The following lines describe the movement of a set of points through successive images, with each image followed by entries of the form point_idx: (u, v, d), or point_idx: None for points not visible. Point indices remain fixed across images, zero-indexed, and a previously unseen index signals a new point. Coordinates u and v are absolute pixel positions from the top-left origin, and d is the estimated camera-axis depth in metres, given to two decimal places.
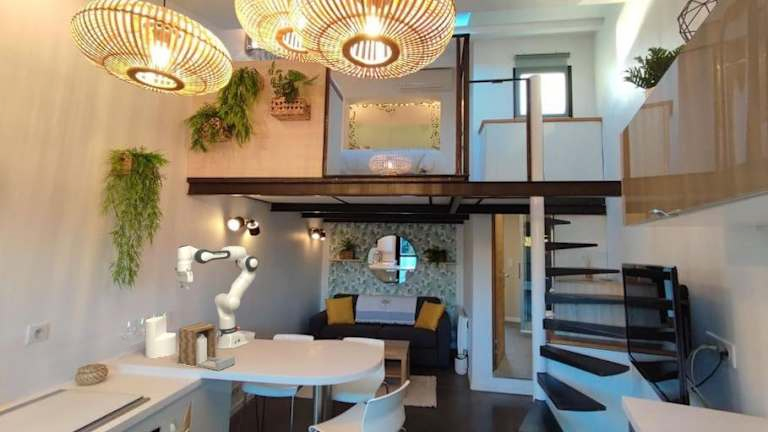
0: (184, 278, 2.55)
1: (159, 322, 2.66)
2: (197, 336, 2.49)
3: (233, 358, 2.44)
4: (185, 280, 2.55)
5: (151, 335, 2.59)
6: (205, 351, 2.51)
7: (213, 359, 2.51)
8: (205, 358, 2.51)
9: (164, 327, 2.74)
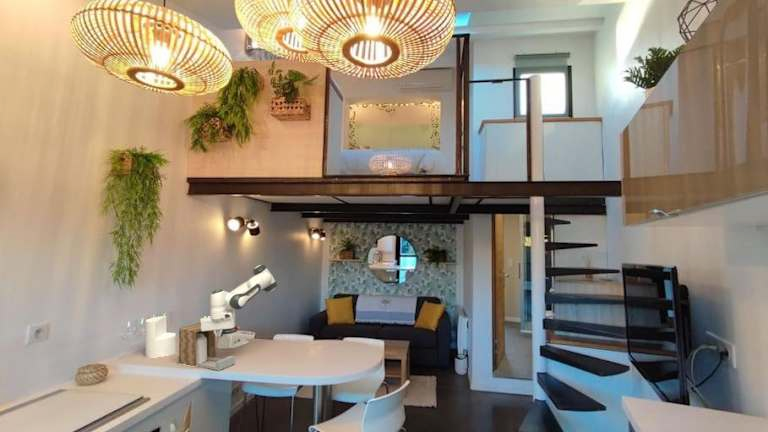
0: None
1: (159, 322, 2.66)
2: (197, 336, 2.49)
3: (233, 358, 2.44)
4: None
5: (151, 335, 2.59)
6: (205, 351, 2.51)
7: (213, 359, 2.51)
8: (205, 358, 2.51)
9: (164, 327, 2.74)
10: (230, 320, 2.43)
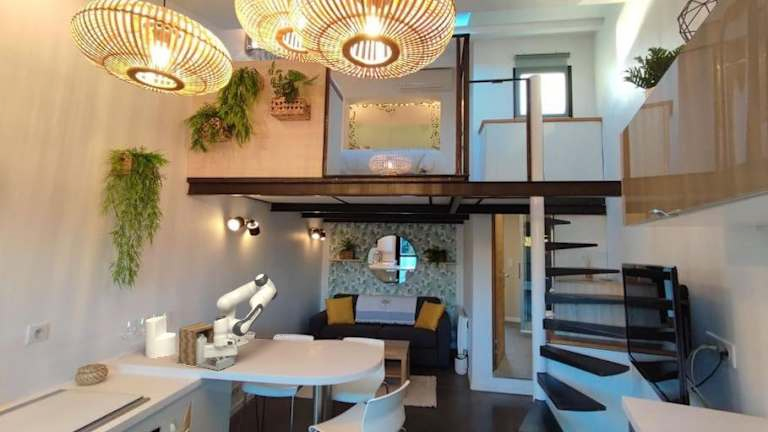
0: None
1: (159, 322, 2.66)
2: (197, 336, 2.49)
3: (233, 358, 2.43)
4: None
5: (151, 335, 2.59)
6: None
7: (213, 359, 2.51)
8: (205, 358, 2.51)
9: (164, 327, 2.74)
10: (233, 347, 2.41)
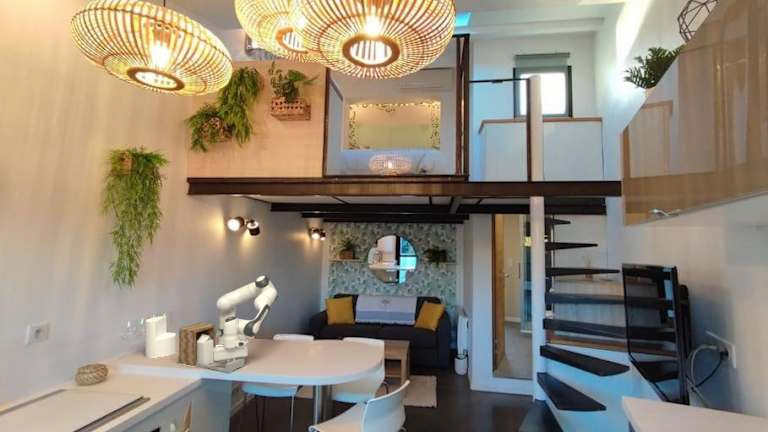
0: None
1: (159, 322, 2.66)
2: (203, 337, 2.46)
3: (243, 360, 2.40)
4: None
5: (151, 335, 2.59)
6: (211, 353, 2.46)
7: (222, 361, 2.47)
8: (211, 360, 2.46)
9: (164, 327, 2.74)
10: (244, 348, 2.39)
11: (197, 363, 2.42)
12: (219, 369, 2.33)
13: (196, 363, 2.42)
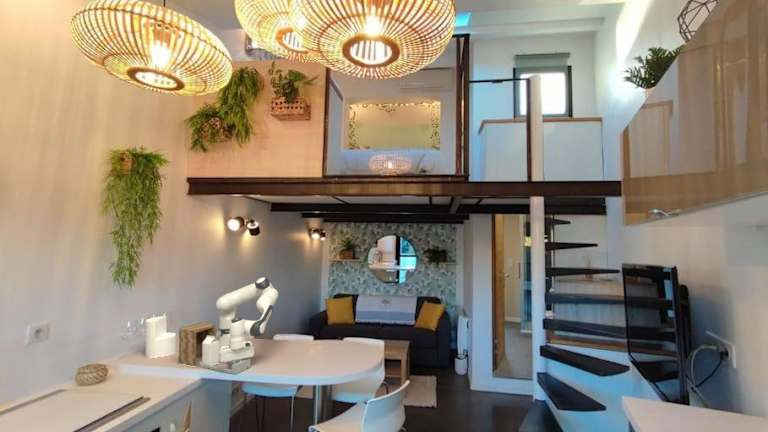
0: None
1: (159, 322, 2.66)
2: (209, 338, 2.43)
3: (249, 361, 2.38)
4: None
5: (151, 335, 2.59)
6: (217, 354, 2.44)
7: (228, 362, 2.45)
8: (217, 361, 2.44)
9: (164, 327, 2.74)
10: (250, 348, 2.38)
11: (203, 364, 2.40)
12: (225, 370, 2.31)
13: (202, 364, 2.40)
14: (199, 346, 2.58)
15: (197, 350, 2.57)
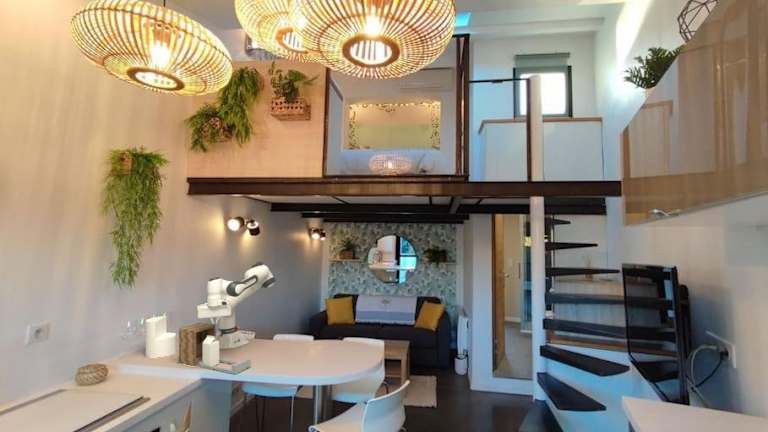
0: None
1: (159, 322, 2.66)
2: (209, 338, 2.43)
3: (249, 361, 2.38)
4: None
5: (151, 335, 2.59)
6: (217, 354, 2.44)
7: (228, 362, 2.45)
8: (217, 361, 2.44)
9: (164, 327, 2.74)
10: (227, 307, 2.45)
11: (203, 364, 2.40)
12: (225, 370, 2.31)
13: (202, 364, 2.40)
14: (199, 346, 2.58)
15: (197, 350, 2.57)
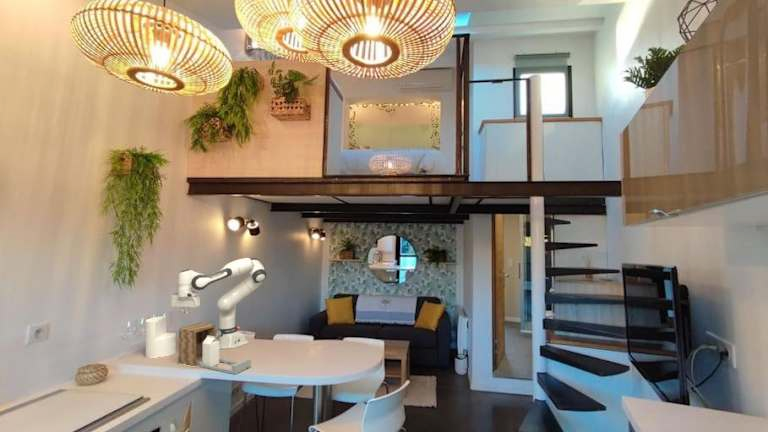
0: None
1: (159, 322, 2.66)
2: (209, 338, 2.43)
3: (249, 361, 2.38)
4: None
5: (151, 335, 2.59)
6: (217, 354, 2.44)
7: (228, 362, 2.45)
8: (217, 361, 2.44)
9: (164, 327, 2.74)
10: (193, 299, 2.53)
11: (203, 364, 2.40)
12: (225, 370, 2.31)
13: (202, 364, 2.40)
14: (199, 346, 2.58)
15: (197, 350, 2.57)
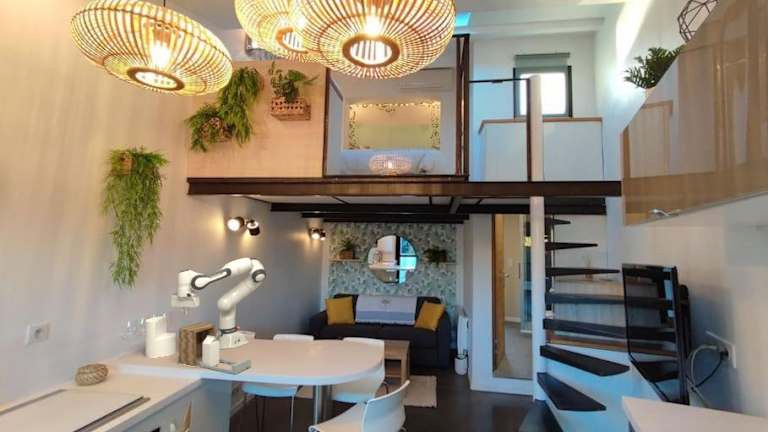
0: None
1: (159, 322, 2.66)
2: (209, 338, 2.43)
3: (249, 361, 2.38)
4: None
5: (151, 335, 2.59)
6: (217, 354, 2.44)
7: (228, 362, 2.45)
8: (217, 361, 2.44)
9: (164, 327, 2.74)
10: (192, 299, 2.53)
11: (203, 364, 2.40)
12: (225, 370, 2.31)
13: (202, 364, 2.40)
14: (199, 346, 2.58)
15: (197, 350, 2.57)
